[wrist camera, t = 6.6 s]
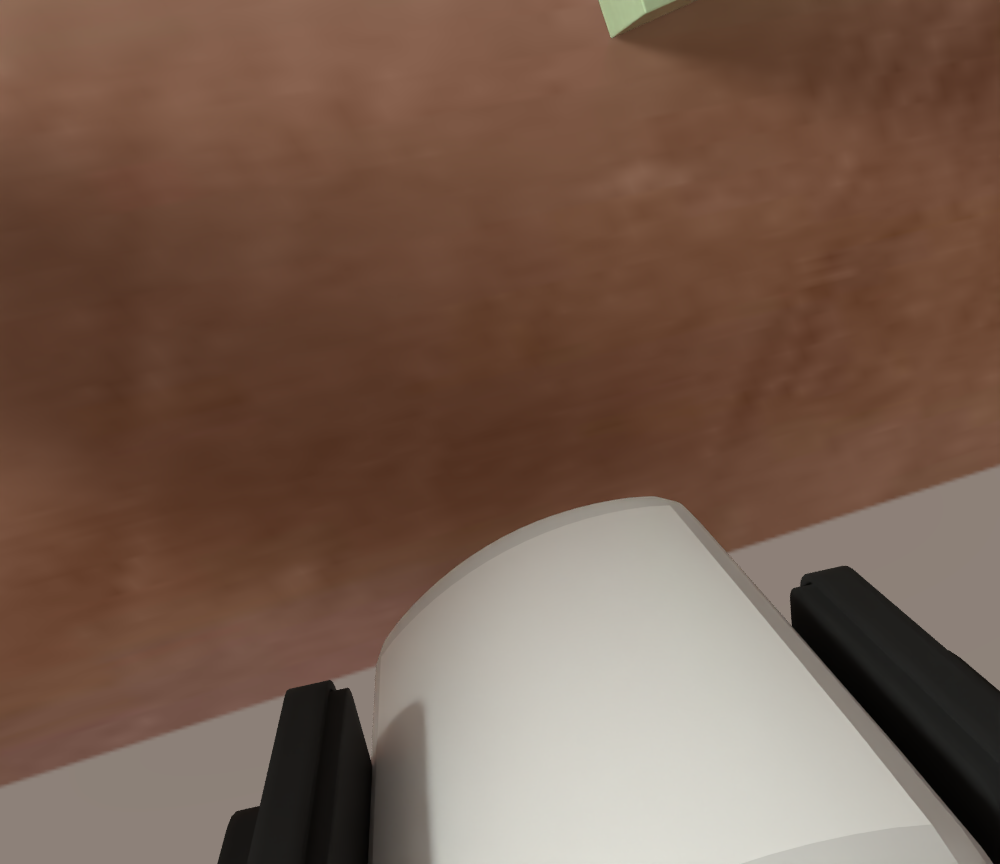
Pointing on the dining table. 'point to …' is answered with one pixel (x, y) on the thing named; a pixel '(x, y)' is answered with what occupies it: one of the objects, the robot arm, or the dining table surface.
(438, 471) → the dining table surface
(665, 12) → the button base
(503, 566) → the eye dropper bottle
